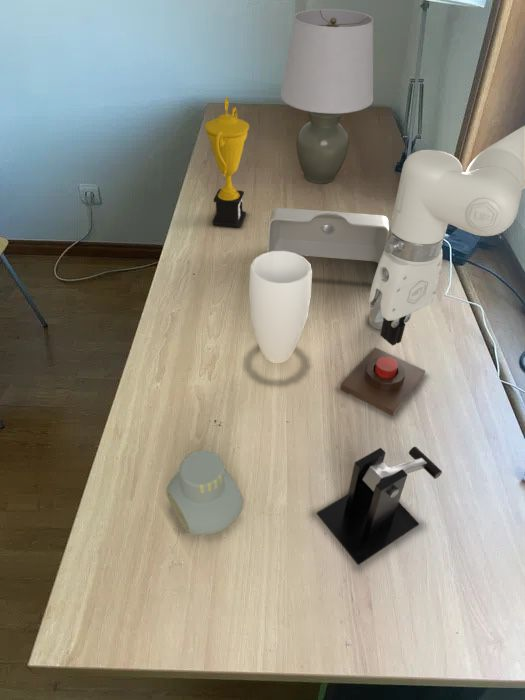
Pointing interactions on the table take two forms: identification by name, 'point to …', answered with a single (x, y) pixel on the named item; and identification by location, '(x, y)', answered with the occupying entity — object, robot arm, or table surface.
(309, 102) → the lamp
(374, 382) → the button block
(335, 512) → the black stand
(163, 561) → the table surface
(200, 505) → the air freshener
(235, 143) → the trophy
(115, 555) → the table surface
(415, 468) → the lever
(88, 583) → the table surface
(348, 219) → the tank
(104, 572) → the table surface
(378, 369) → the button
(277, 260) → the cup
